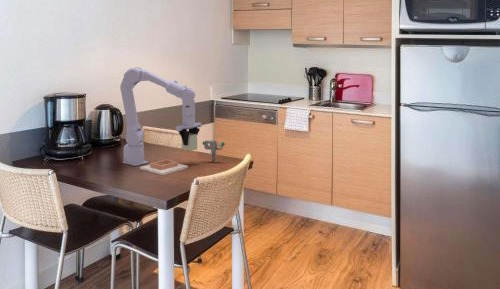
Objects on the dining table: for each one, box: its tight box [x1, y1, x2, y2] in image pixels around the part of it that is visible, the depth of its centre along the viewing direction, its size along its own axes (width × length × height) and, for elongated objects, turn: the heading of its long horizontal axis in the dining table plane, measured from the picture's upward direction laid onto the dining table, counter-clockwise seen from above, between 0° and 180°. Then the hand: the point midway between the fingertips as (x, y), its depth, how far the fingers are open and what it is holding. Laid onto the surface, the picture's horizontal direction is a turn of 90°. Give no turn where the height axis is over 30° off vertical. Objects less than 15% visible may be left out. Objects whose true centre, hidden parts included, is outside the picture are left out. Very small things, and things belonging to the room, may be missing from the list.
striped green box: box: [181, 133, 198, 152], centre depth 208 cm, size 6×4×7 cm, turn 52°
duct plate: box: [139, 159, 189, 176], centre depth 202 cm, size 15×15×3 cm
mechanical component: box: [202, 140, 226, 163], centre depth 214 cm, size 3×10×10 cm, turn 78°
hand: (189, 144), depth 209 cm, fingers closed on striped green box, 4 cm apart
